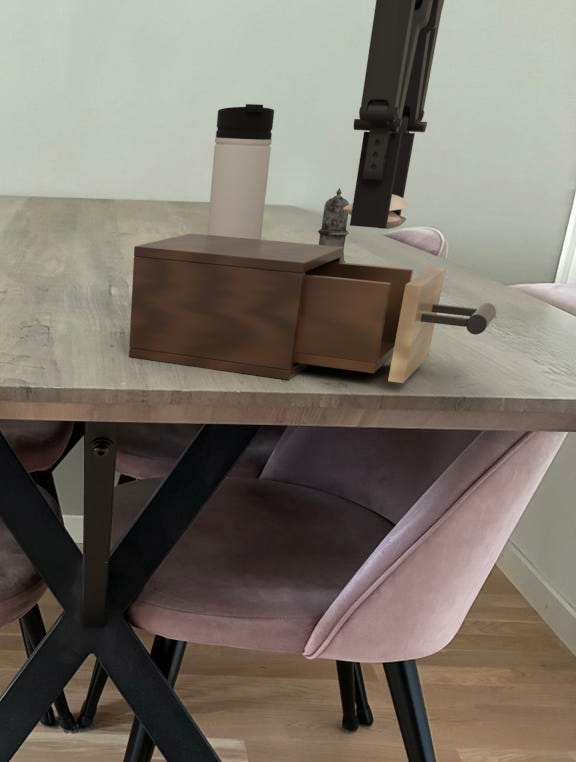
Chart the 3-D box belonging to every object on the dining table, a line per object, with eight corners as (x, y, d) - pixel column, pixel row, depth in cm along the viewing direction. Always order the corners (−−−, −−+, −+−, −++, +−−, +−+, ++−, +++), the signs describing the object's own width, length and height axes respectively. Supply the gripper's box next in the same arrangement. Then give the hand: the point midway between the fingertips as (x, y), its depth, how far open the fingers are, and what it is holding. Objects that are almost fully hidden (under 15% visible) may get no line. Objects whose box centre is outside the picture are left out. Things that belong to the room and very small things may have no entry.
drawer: (487, 364, 82) (507, 274, 79) (468, 392, 73) (490, 293, 70) (280, 337, 89) (290, 253, 86) (240, 360, 80) (250, 268, 77)
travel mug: (210, 300, 111) (227, 103, 101) (196, 290, 116) (211, 103, 106) (262, 300, 111) (284, 105, 102) (245, 291, 117) (265, 105, 107)
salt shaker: (357, 299, 115) (375, 189, 109) (332, 304, 111) (348, 191, 105) (316, 292, 118) (330, 185, 113) (289, 297, 115) (303, 187, 109)
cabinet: (328, 352, 88) (344, 247, 84) (288, 380, 78) (304, 262, 74) (182, 333, 94) (190, 233, 89) (128, 356, 84) (133, 246, 79)
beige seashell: (403, 232, 74) (410, 197, 73) (338, 228, 75) (343, 192, 74) (404, 227, 78) (411, 193, 76) (342, 223, 79) (347, 189, 78)
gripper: (405, -119, 73) (354, 213, 85) (351, -176, 59) (298, 229, 71) (508, -124, 70) (440, 220, 82) (476, -186, 57) (401, 237, 68)
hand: (375, 223), depth 76 cm, fingers closed on beige seashell, 4 cm apart
